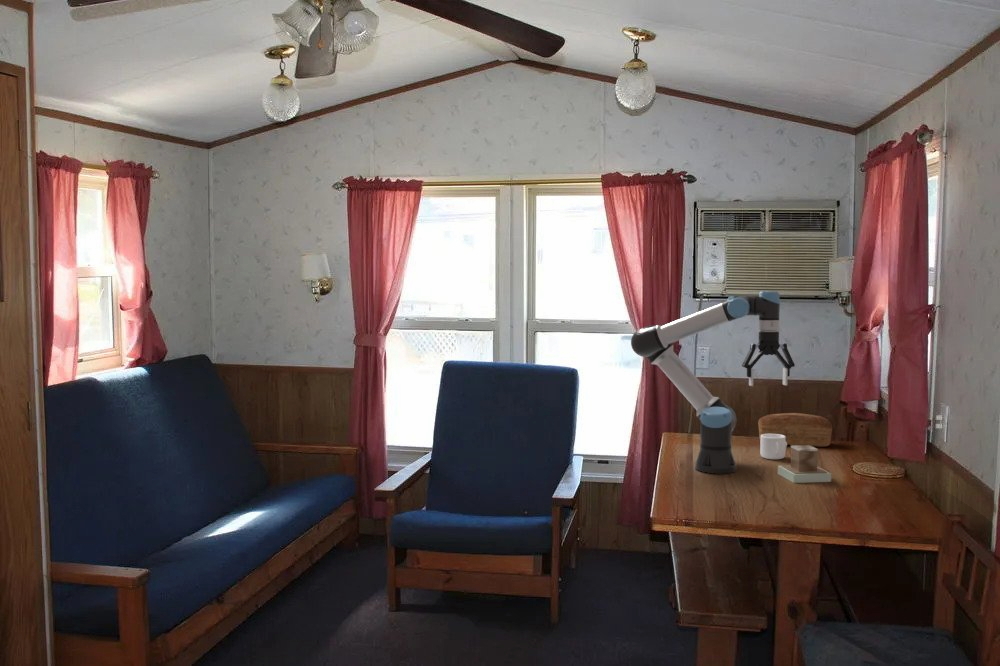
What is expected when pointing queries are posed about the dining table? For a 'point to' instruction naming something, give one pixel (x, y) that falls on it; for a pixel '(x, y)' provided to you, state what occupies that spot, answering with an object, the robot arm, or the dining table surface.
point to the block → (804, 458)
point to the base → (804, 475)
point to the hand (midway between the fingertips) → (768, 385)
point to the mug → (773, 446)
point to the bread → (797, 428)
